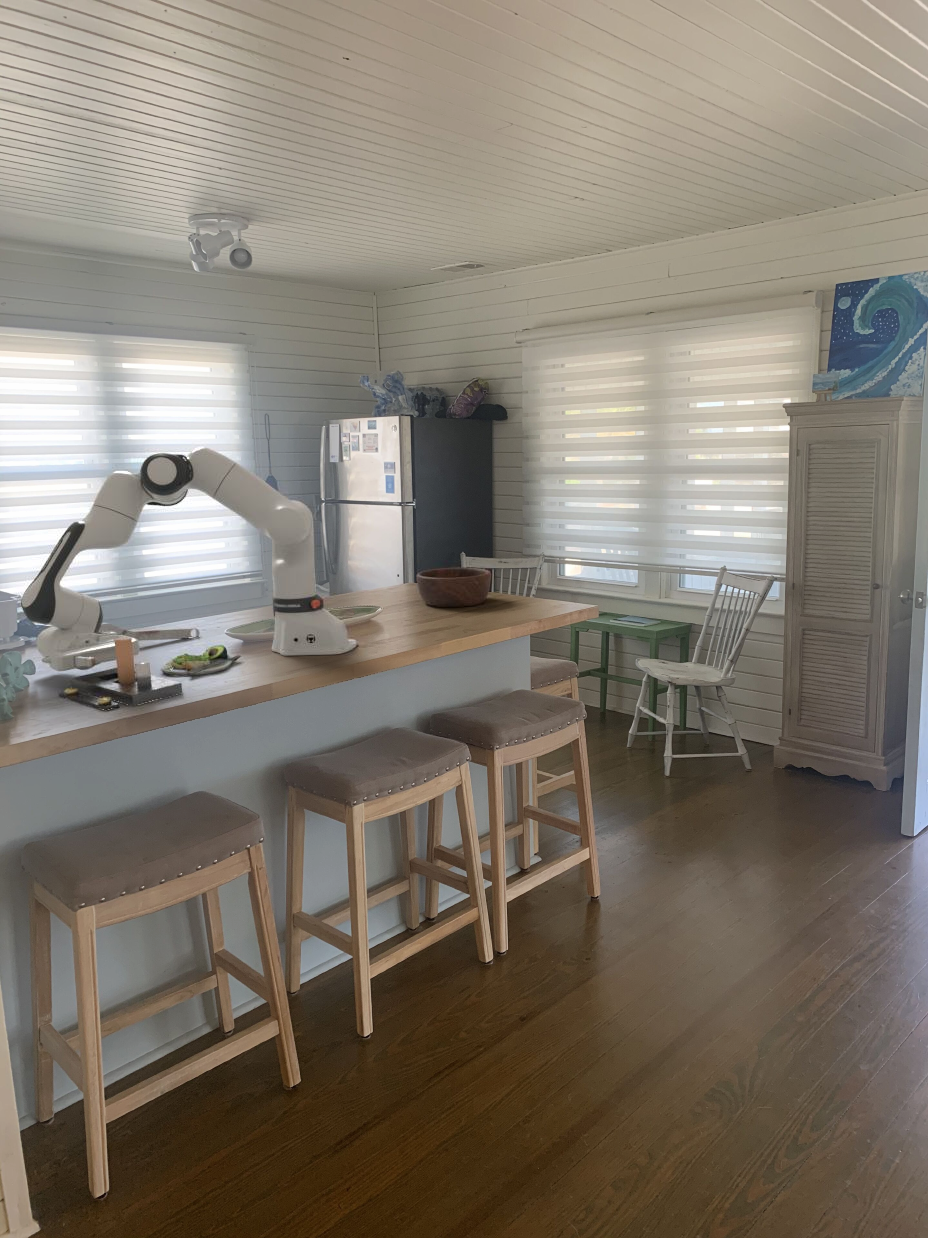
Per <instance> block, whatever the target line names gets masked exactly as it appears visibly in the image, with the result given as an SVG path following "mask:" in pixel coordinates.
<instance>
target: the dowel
mask: <svg viewBox="0 0 928 1238" xmlns="http://www.w3.org/2000/svg"><path fill="white" fill-rule="evenodd" d="M114 642H115V651H116V660H115V661H116V668H117V669H118V679H119V684H121V685H126V684H130V683H134V682H136V677H135V671H136V669H135V660H134V659H135V658H134V657H135V656H134V657H133V648H132V639H131V638H121V639H116V640H114Z"/></svg>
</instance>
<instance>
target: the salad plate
mask: <svg viewBox="0 0 928 1238" xmlns="http://www.w3.org/2000/svg"><path fill="white" fill-rule="evenodd" d="M241 657H242V655H241V654H240V655H238V654H237V655H235V656H234V655H233V654H229V653H228V650H227V648H226V646H225V645H221V644H218V645H212V646H210V647H209V648H208V649H206V650H205V652H203V654H188V653H184V654H181V655H177V656H176V657H173V658H170V660H168V661H167V662H166V663H165V664H164V665H162V666H161V667H160V671H161V672H162V673H165V674H166V675H168V674H170V675H169V676H173V675H189V676H201V675H202V674H203V675H208V674H213V673H218V672H222V671H224V670H226V669H227V668H228V667H229V666H231V665H232V664H233V663H234V662H236V661H237V660H238V659H240V658H241ZM174 667H176V668H174ZM172 668H173V669H180V668H185V669H184V670H186V671H178V670H177V671H176V670H175V671H174V670H172V671H171V670H170V669H172Z"/></svg>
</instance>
